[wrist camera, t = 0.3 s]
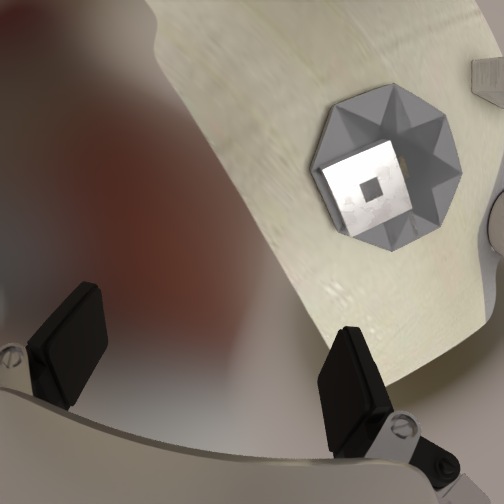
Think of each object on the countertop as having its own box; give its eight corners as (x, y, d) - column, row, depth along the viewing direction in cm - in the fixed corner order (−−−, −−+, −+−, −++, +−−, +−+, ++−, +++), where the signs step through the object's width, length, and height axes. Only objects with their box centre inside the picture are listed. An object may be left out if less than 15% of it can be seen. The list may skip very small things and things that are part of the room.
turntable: (423, 73, 28) (428, 72, 26) (464, 207, 35) (469, 211, 34) (287, 125, 32) (288, 125, 31) (350, 264, 40) (353, 270, 38)
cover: (381, 138, 31) (390, 140, 28) (404, 202, 34) (412, 208, 32) (318, 166, 33) (322, 170, 30) (345, 230, 36) (351, 237, 34)
